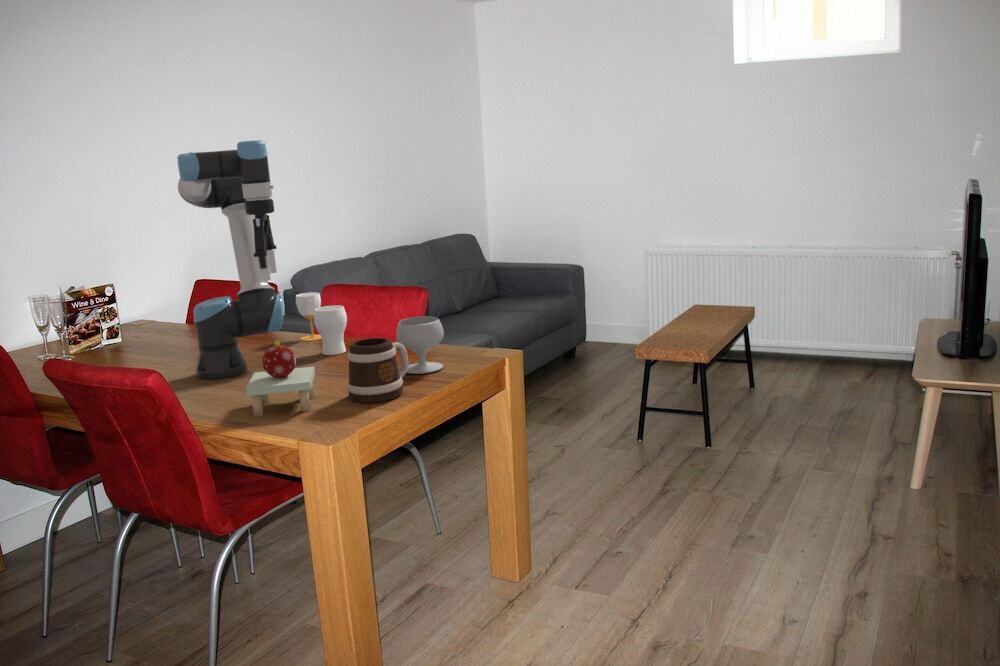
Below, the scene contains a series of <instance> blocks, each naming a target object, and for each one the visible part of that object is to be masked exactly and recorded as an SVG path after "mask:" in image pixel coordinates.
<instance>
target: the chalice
mask: <svg viewBox="0 0 1000 666" xmlns="http://www.w3.org/2000/svg"><path fill="white" fill-rule="evenodd" d="M444 335H445V333H444V327H443V325H442V323H441V321H440V319H439V318H438V317H437V316H430V315H425V316H423V315H422V316H420V315H419V316H413V317H407V318H403V319H401V320H400V321H399V322H398V323H397V328H396V333H395V338H396V342H399V343H400V344H402V345H403V346H404V347H405V349H406V350H410V351H412V352H414V353H415V354H416V355H417V356H418V359H419V360H418V362H416V363H412V364H408V370H407V372H406V373H405V374H412V375H413V374H414V375H419V374H420V375H421V374H430V373H435V372H438V371H441V370H442V369H443V368H444V366H445V365H444V364H442V363H439V362H436V361H435V362H434V361H433V362H432V361H427V360H426V356H427V353H428V352H429V351H430V350H432V349H433V348H434V347H435V346H437V345H439V343H441V342H442V340H443V338H444Z"/></svg>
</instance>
